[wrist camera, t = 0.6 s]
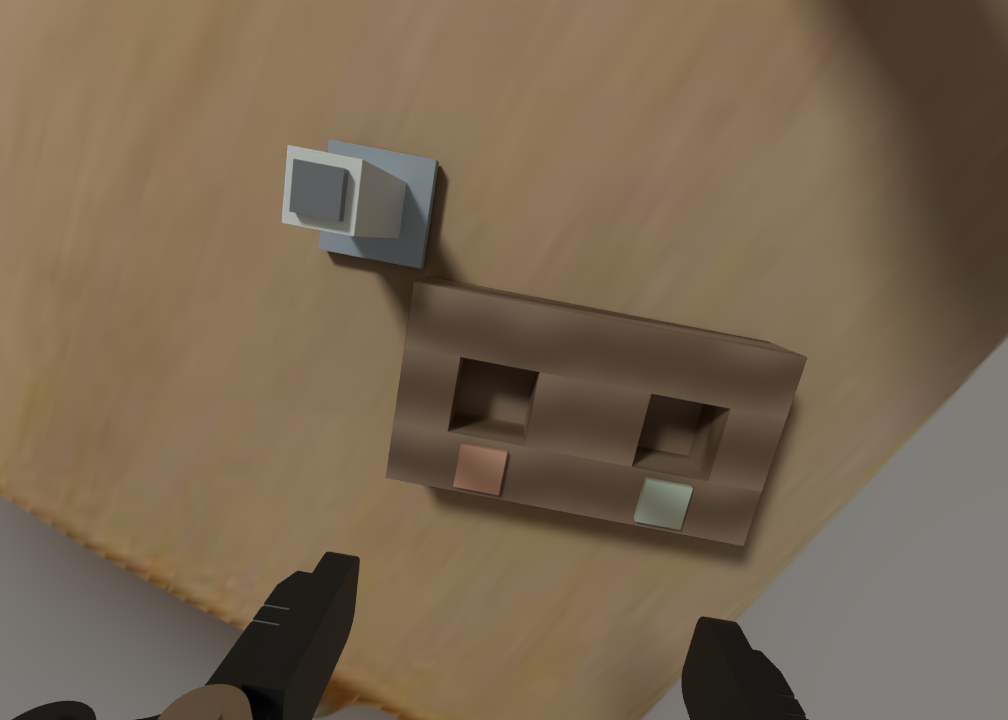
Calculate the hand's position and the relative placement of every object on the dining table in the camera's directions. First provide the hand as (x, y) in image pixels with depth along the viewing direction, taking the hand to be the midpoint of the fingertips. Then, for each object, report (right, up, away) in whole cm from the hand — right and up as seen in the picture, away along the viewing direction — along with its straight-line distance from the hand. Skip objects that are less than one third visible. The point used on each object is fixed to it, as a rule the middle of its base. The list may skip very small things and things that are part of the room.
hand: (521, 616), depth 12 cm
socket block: (+5, +3, +25) cm, 25 cm away
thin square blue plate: (-9, +16, +22) cm, 29 cm away
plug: (-9, +16, +21) cm, 28 cm away
